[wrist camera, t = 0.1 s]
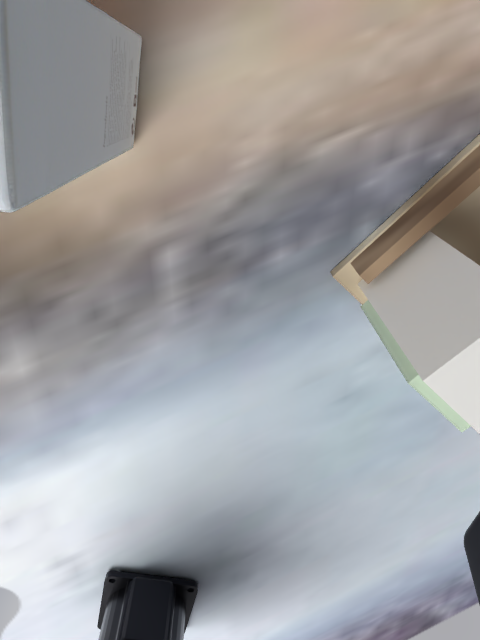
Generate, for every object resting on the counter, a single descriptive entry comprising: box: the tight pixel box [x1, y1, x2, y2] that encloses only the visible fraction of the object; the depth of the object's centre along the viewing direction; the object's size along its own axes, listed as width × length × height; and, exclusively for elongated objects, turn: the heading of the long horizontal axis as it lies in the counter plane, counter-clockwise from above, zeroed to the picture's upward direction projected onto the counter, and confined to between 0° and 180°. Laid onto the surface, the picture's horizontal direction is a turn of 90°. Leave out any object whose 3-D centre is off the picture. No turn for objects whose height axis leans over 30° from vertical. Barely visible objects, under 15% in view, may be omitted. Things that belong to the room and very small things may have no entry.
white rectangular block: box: [358, 231, 480, 434], centre depth 18 cm, size 4×4×8 cm
